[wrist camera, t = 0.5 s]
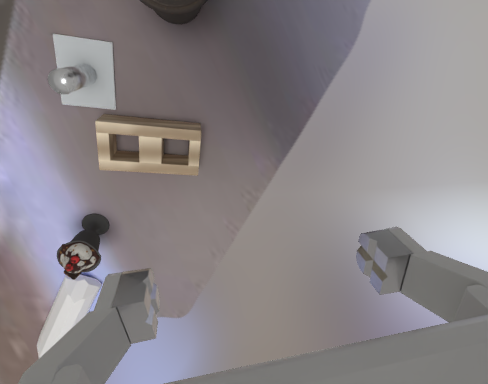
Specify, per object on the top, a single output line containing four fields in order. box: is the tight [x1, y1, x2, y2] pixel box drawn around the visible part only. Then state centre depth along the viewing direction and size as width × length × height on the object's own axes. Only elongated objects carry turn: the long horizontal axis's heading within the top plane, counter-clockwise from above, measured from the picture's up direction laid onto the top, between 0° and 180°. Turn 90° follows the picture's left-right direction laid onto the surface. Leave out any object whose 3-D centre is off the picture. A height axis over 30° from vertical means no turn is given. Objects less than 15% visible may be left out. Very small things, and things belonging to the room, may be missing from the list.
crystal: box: [37, 275, 102, 358], centre depth 63 cm, size 7×7×24 cm
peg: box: [48, 64, 97, 94], centre depth 40 cm, size 3×3×10 cm
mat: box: [53, 34, 116, 110], centre depth 45 cm, size 10×8×1 cm
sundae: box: [57, 214, 109, 280], centre depth 50 cm, size 7×7×15 cm
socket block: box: [95, 114, 201, 176], centre depth 49 cm, size 8×16×5 cm, turn 82°
